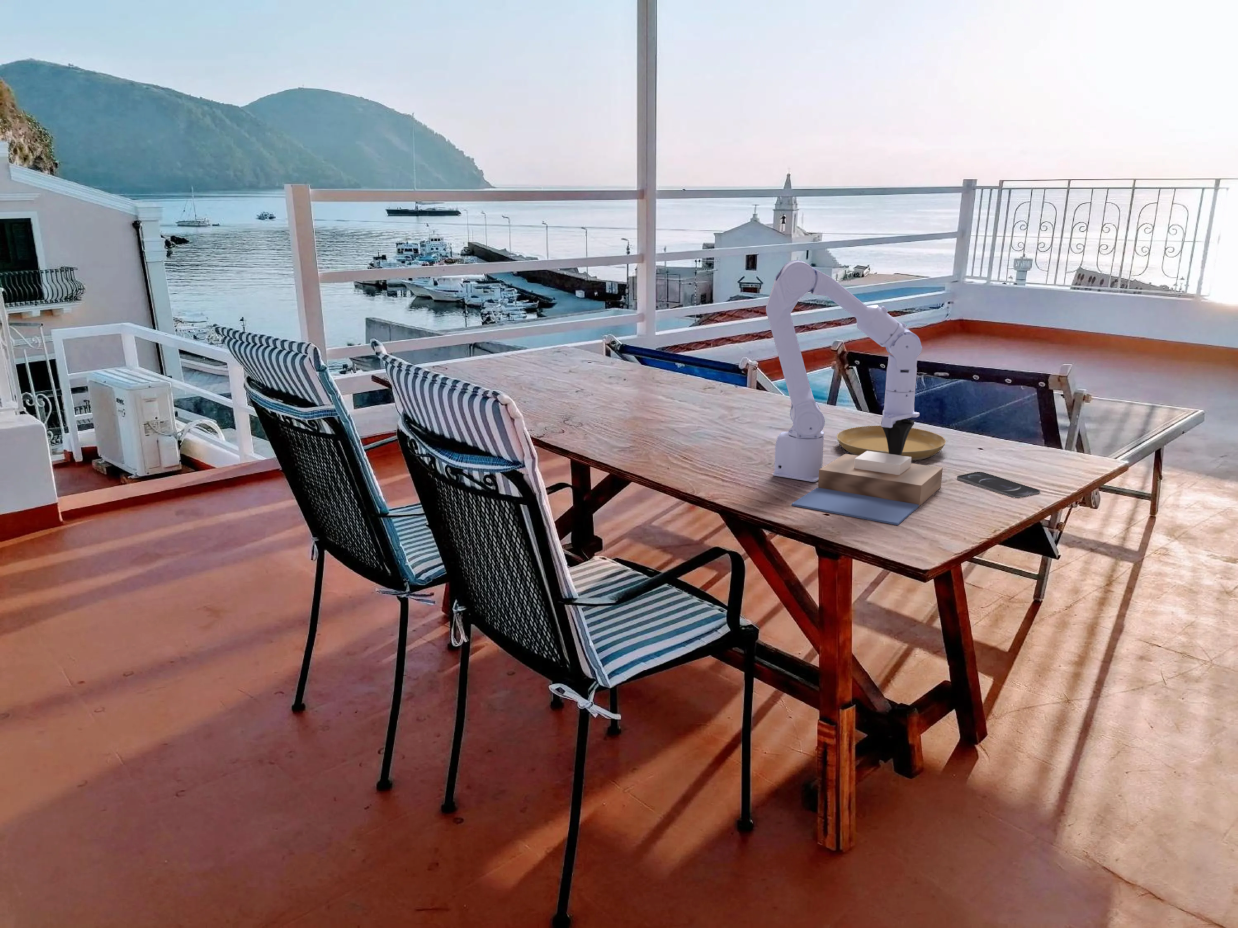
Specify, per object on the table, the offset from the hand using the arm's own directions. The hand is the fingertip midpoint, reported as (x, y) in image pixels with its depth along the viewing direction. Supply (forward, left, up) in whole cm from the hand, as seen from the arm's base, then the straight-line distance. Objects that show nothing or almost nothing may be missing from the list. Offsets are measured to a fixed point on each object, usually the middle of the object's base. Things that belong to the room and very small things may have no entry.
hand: (895, 454), depth 173 cm
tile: (0, -8, -1) cm, 8 cm away
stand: (0, -9, -5) cm, 10 cm away
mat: (0, -22, -5) cm, 23 cm away
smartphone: (+19, +5, -5) cm, 20 cm away
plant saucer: (-8, +21, -5) cm, 23 cm away
